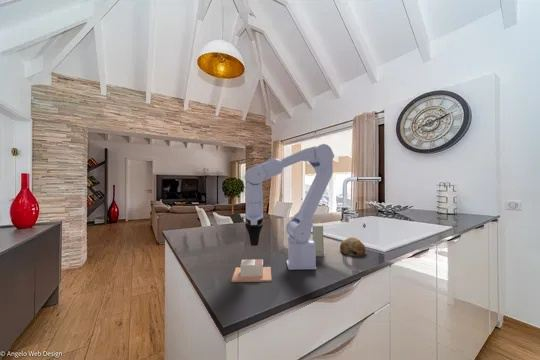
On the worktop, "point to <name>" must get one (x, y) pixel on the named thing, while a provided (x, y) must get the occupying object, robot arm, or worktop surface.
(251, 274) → the card box
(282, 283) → the worktop surface
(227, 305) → the worktop surface
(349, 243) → the brown rounded lump
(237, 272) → the mat
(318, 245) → the skincare box
